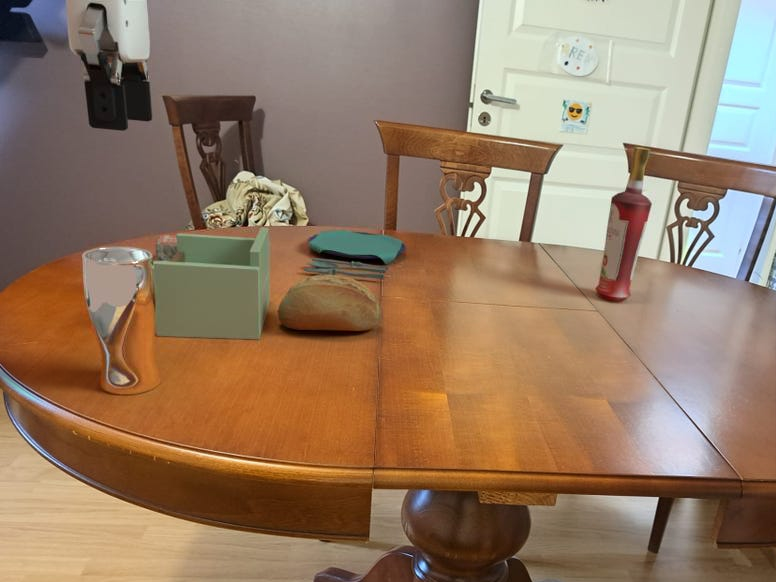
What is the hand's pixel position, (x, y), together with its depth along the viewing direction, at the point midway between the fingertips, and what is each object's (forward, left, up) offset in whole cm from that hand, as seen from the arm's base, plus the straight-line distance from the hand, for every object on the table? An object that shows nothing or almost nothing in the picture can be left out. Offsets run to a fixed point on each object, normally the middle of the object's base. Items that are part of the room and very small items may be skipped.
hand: (123, 124), depth 67 cm
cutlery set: (+25, +56, -28) cm, 67 cm away
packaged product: (0, +46, -28) cm, 54 cm away
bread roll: (+21, +17, -28) cm, 39 cm away
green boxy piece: (+5, +20, -28) cm, 34 cm away
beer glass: (-1, -2, -28) cm, 28 cm away
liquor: (+74, +39, -28) cm, 88 cm away
